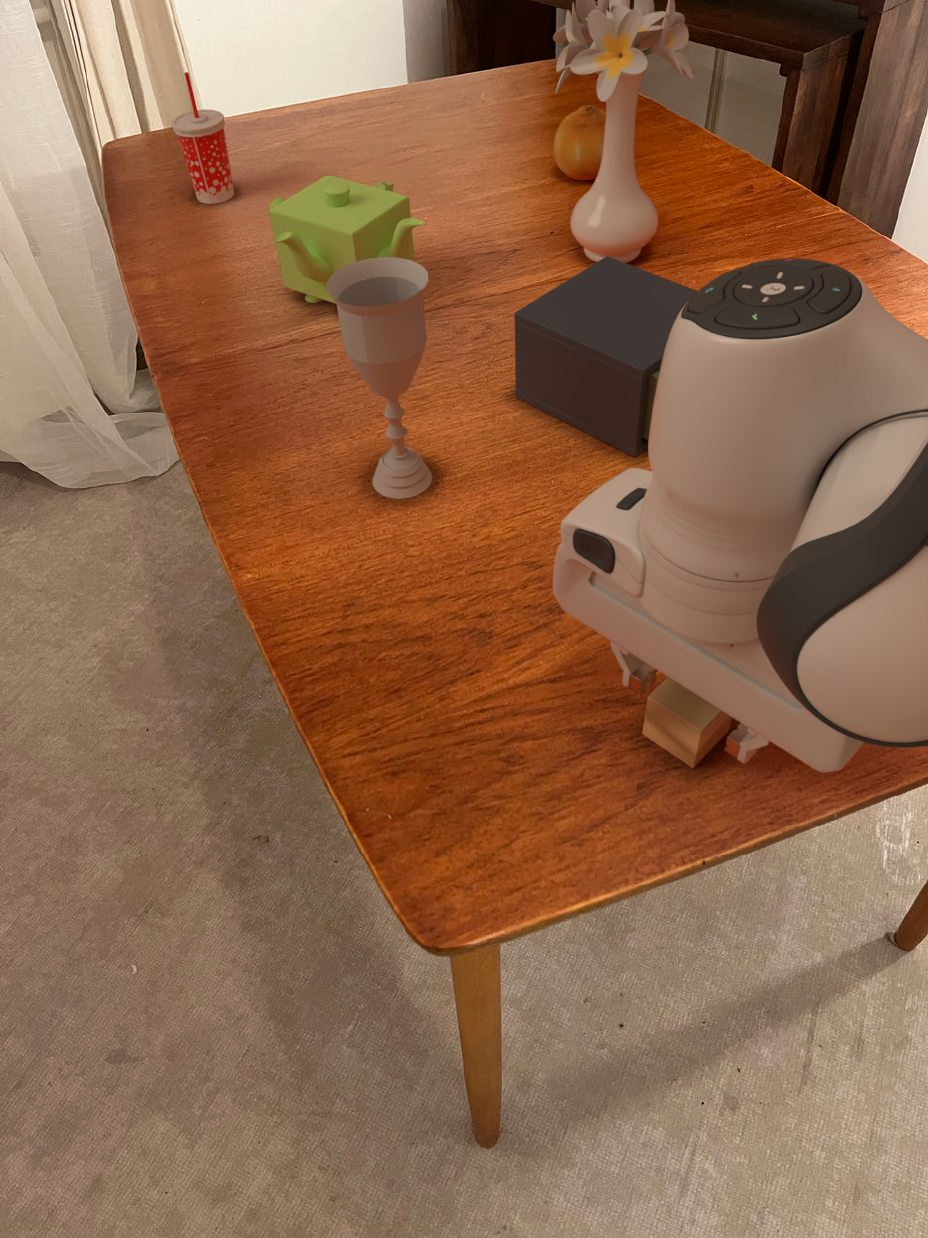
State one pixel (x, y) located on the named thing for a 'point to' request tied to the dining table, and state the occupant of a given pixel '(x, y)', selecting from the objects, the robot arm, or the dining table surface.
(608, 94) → the flower vase
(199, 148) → the beverage cup
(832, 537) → the robot arm
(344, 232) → the kettle
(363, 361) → the chalice
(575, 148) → the fruit
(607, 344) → the cabinet
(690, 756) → the block
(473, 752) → the dining table surface
